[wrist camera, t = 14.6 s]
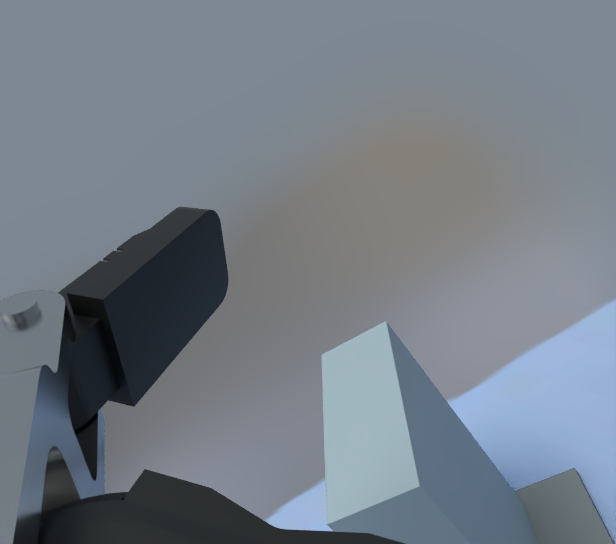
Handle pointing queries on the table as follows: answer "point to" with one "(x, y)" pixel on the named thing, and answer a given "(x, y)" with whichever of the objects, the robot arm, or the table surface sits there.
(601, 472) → the table surface
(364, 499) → the upright blue-grey block
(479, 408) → the table surface
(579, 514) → the mat
